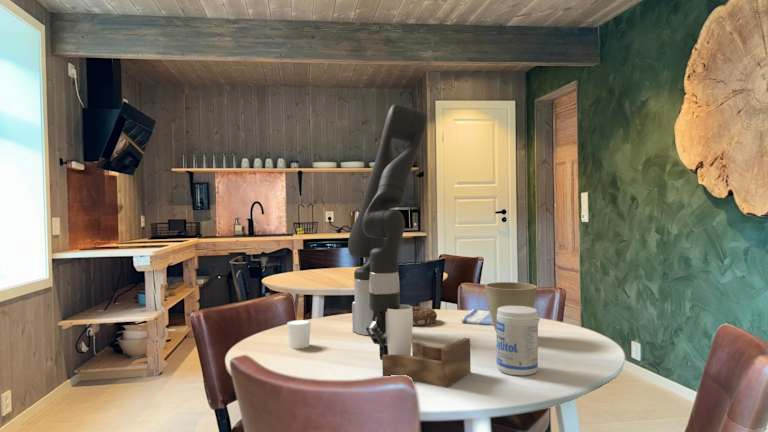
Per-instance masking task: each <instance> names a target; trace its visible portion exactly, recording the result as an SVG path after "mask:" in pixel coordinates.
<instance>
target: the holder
mask: <svg viewBox="0 0 768 432" xmlns="http://www.w3.org/2000/svg"><path fill="white" fill-rule="evenodd" d="M381 361H382V377H383V376H391V375H407V376H409V377H411V378H412V379H413V380H414V381H413V380H412V381H413V382H418V383H422V384H423V383H425V384H430V385H434V386H439V387H444V388H449V387H451V386H452V385H454V384H455V383H457V382H459V380H462V378H464V377H466V376H467V375H469V374H470V373H471V338H469V337H462V338H456V339H455V340H453V341H451V342H449V343H447V344H445V345H444V346H437V345H432V344H425V343H424V342H423V343H422V342H420V341H417V340H415V341H414V340H412V342H411V356H408V355H383V356H382V360H381Z"/></svg>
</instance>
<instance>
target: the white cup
mask: <svg viewBox="0 0 768 432" xmlns="http://www.w3.org/2000/svg"><path fill="white" fill-rule="evenodd" d="M311 325H312V322H311V320H307V319H295V320H290V321H287V322H286V328H287V337H288V342H289V343H288V344H289V345H288V346H289V348H291V349H295V350H297V349H299V350H300V348H301V349H306V348H308V347H309V346H310V341H311V340H310V338H311ZM305 347H306V348H305Z"/></svg>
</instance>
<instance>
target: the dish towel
mask: <svg viewBox="0 0 768 432" xmlns="http://www.w3.org/2000/svg"><path fill="white" fill-rule="evenodd" d="M461 323H462V324H465V325H466V324H467V325H469V324H470V325H477V324H479V326H489V325H492V327H494V324H493V321H492V318H491V314H490V310H480V309H479V310H478V309H475V308H473V309H471V310H469V312H467V313H466V314H465V315H463V317H462V318H461Z"/></svg>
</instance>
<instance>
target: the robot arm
mask: <svg viewBox="0 0 768 432" xmlns="http://www.w3.org/2000/svg"><path fill="white" fill-rule="evenodd" d="M427 123H428V116H427V114H426V112H424V111H421V110H419V109H416V108H412V107H409V106H407V105H402V104H399V103H393V104H392V105H391V107H390V109H389V110H388V112H387V116H386V119H385V122H384V127H383V131H382V134H381V139H380V143H379V147H378V152H377V155H376V157H375V160H374V161H375V162H374V164H373V167H372V170H371V173H370V176H369V178H368V182H367V184H366V188H365V192H364V196H363V198H362V203H361V205H360V209H359V212H358V214H357V217H356V219H355V222H354V223H353V226H352V228H351V230H350V233H349V236H348V242H347V248H348V252H349V254H350V256H352V257H353V258H359V259H360V258H361V259H363V258H367V261H366V263H364V264H363V265H362V266H360V267H357V268H356V269H355V270H354V272H353V273H354V274H353V275H354V276H353V279H354V282H353V283H354V301H352V304H351V312H352V313H351V314H352V315H351V316H352V318H351V321H352V322H351V323H352V333H353V332H354V333H355V334H358V335H362V336H364V335H365V336H369V337H370V339H371V341H372V342H373V344H374V345H378V346H379V359H380V360H381V361H382V356H383V355H388V348H387V338H386V327H385V311H386V312H387V309H399V307H400V305H401V304H400V276H399V251H400V248H401V243H402V239H403V236H404V231H405V227H406V221H405V217H404V215H403V214H402V212H401V211H400V210H398V209H394V208H397V207H400V206H402V204H403V202H404V198H405V195H406V191H407V187H408V181H409V178H410V174H411V171H412V169H413V166H414V163H415V162H416V158H417V156H418V153H419V151H420V147H421V144H422V141H423V138H424V136H425V132H426V129H427ZM393 139H395V140H396V139H397V140H399V141H401V142H402V141H403V142H406V143H409V144H408V146H407V147H406V148H405V150H404V151H402V153H401V154H400V155H398V156H397V157H396V158H395V157H394V156H395V155H394V149H393ZM385 239H386V241H385Z"/></svg>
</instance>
